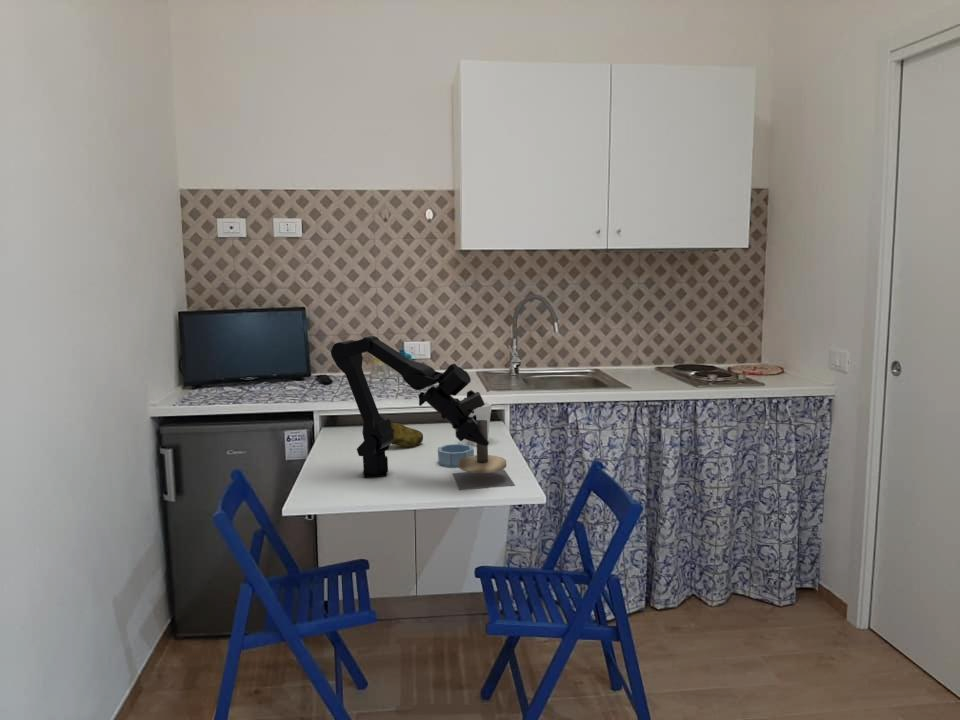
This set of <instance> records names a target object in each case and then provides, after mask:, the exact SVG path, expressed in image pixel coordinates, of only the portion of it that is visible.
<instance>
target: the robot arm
mask: <svg viewBox="0 0 960 720" xmlns="http://www.w3.org/2000/svg"><path fill="white" fill-rule="evenodd" d="M365 353H368V354H370V355H371V356H373V357H375V358H376V359H377V360H379V361H380V362H382V363H383V364H385V365H386V366H388V367H390V368H391V369H393V370H394V371H396V372H397V373H398V374H399V375H400V376H401V377H402V380H403V381H404V382H405V383H406V384H407V385H409V387H410V388H412V390H415V391H421V390H424V389H427V388H428V389H427V390H426V391H425V392H420V393H419V394H418V406H419V407H421V406H423V404H425V402H426V404H429V405H430V407H432V409H434V410H435V411H436V412H437V413H438V414H439V415H440V417H441V418H442V419H443V420H445V421H446V422H448V423H449V424H450V425H451V427H452V428H453V430H455V431H454V432H455V437H456V439H457V440H458V441H460V442H463V441H464V440H466V441H468V440H469V441H472V442H475V443H478V444H481V445H484V446H487V445H488V446H489V440H488V441H487V440H486V439H485V437H484V436H483V435H482V433H481V432H480V431H479V429H478V422H477V421H476V415H474V416H473V417H469V415H470V414H471V413H474V409H476V408H478V407H482V406H484V405H485V404H484V402H485V401H484V399H483V398H482V396H481V393H480V392H479V391H474V390H472V389H470V390H469V391H466V397H464V398H463V399H461V400H459V399H460V398H457V397H456V398H454V397H455V396H457V395H458V394H459V393H460V392H461V391H462V390H463V389H465V388H466V387H467V386H468V385H469V384H470V383H471V381H472V380H471V379H472V378H471V376H470V374H469V373H468V371H466V370H464V368H462V367H460V366H458V365H457V364H456V363H452V364H450V365H448V367H447V368H446V369H445V370H444V372H441V371H436V370H435V369H434V368H433V367H432V366H430V365H427V364H425V363H422V362H420V361H414V360H412V359H409V358H408V357H407V356H405V355H403V354H402V353H400V352H399V351H397V350H396V349H394V348H393V347H391V346H390V345H388V344H387V343H385V342H383V341H382V340H380V338H379V337H377V336H375V335H370V336H365V337H363V338H361V339H359V340H353V339H349V340H345V341H339V342H336V343H334V344H333V345H332V348H331V350H330V355H331V358H332V360H333V361H334V364H335V365H336V367H337V368H338V369H339V370H340V371H341V372H342V373H343V374H344V375H345V377H346V379H347V382H348V384H349V387H350V390H351V393H352V396H353V397H354V401H355V403H356V406H357V409H358V411H359V413H360V414H359V415H360V416H361V419H362V422H363V423H362V437H363V442H362V443H361V444H359V446H358V447H357V448H356V451H357V454H358V457H362V463H363V465H362V466H363V467H362V468H363V470H362V473H363V474H362V475H363V478H376V477H378V478H379V477H387V476H388V474H387V473H388V472H389V460H388V459H389V458H388V456H387V455H386V451H388V450H389V449H390V446H391V445H392V444H391V443H392V441H393V439H394V434H393V432H394V430H393V428H392V427H391V420H390V419H389V418H386V419H384V418H383V417H382V416H381V415H380V412H379V409H378V407H377V404H376V402H375V400H374V396H373V394H372V392H371V388H370V386H369V384H368V381H367V378H366V375H365V373H364V369H363V362H364V361H363V358H364V357H363V354H365ZM436 384H438V385H436ZM434 385H436V386H434ZM453 396H454V397H453Z"/></svg>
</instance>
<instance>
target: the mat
mask: <svg viewBox="0 0 960 720" xmlns="http://www.w3.org/2000/svg"><path fill="white" fill-rule="evenodd" d="M451 475H452V476H453V478H454V481H455V483H456V486H457V487H458V490H459V491H463V490H476V489H488V488H489V489H491V488H493V489H494V488H503V487H505V488H506V487H516V484H515V483H514V482H513V480H512V478H511V477H510V476H509V473H507V471H506V470H505V468H504V469H502V470H500V471H496V472H490V473H473V472H467V471H464V472H452V473H451Z"/></svg>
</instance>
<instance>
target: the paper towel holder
mask: <svg viewBox="0 0 960 720" xmlns="http://www.w3.org/2000/svg"><path fill="white" fill-rule="evenodd" d="M477 422H478V429H479V431H480V432H481V433H482V435H483V436H484V437H485V439H486V440H487V441H488V442H489V434H488V435H487V420H477ZM488 450H489V444H488V445H487V446H484V445H481V444H478V443H477V446H476V454H474V456H469V457H465V458H463V459H461V460H459V467H458V469H460V470H462V471H464V472H473V473H490V472H496V471H500V470H503V469H504V470H505V469H506V467H507V460H506V459H505V458H504V457H503V456H499V455H492V454H489V451H488Z"/></svg>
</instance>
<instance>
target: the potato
mask: <svg viewBox="0 0 960 720" xmlns="http://www.w3.org/2000/svg"><path fill="white" fill-rule="evenodd" d="M390 423H391V422H390ZM391 427H392V428H393V430H394V432H393V434H394V439H393V441H392V443H391V444H390V445H395V446H399V447H401V448H413V447H417V446H418V445H420V444H421V443H422V442H423V440H424V435H423V432H422V431H420V430H418V429H415V428H412V427H408V426H406V425H404V424H402V423H398V422H397V423H395V422H394V423H393V422H392V423H391Z"/></svg>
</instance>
